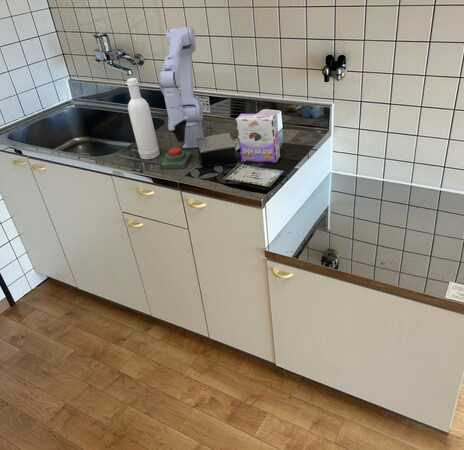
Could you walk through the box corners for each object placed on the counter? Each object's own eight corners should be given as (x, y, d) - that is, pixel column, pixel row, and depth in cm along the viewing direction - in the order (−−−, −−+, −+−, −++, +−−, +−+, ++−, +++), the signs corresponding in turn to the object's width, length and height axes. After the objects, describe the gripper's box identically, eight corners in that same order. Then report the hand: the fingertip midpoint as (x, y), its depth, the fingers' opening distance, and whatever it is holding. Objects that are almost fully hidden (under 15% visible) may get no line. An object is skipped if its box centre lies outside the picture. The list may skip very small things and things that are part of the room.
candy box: (280, 156, 172) (277, 113, 163) (276, 163, 167) (272, 119, 158) (245, 154, 176) (240, 112, 167) (240, 161, 172) (234, 118, 163)
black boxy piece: (237, 162, 171) (234, 146, 168) (203, 168, 170) (200, 152, 166) (231, 149, 181) (229, 134, 178) (199, 155, 180) (196, 140, 176)
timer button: (171, 152, 177) (170, 147, 176) (182, 151, 177) (181, 147, 176) (168, 157, 174) (167, 152, 173) (179, 156, 173) (178, 152, 172)
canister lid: (235, 147, 167) (235, 145, 167) (200, 153, 166) (200, 151, 165) (229, 134, 178) (228, 132, 178) (196, 140, 176) (196, 138, 176)
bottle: (141, 152, 188) (122, 77, 172) (160, 149, 188) (143, 74, 172) (139, 160, 181) (119, 83, 165) (159, 158, 182) (141, 80, 165)
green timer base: (169, 156, 182) (167, 147, 180) (191, 155, 181) (190, 146, 179) (161, 169, 173) (159, 160, 171) (184, 168, 172) (183, 159, 170)
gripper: (178, 112, 158) (186, 149, 165) (190, 97, 170) (197, 133, 177) (159, 113, 159) (167, 149, 167) (172, 98, 171) (179, 133, 179)
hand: (181, 141), depth 172 cm, fingers closed
